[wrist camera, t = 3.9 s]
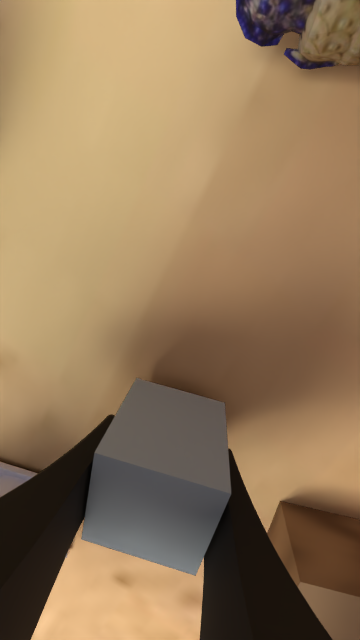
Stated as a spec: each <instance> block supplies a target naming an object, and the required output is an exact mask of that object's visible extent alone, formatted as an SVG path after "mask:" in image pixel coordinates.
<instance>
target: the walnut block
mask: <svg viewBox="0 0 360 640" xmlns="http://www.w3.org/2000/svg"><path fill="white" fill-rule="evenodd" d="M267 535H268V537H269V539H270V540H271V542H272V544H273V546H274V548H275V550H276V551H277V553H278V555H279V557H280V559H281V560H282V562H283V564H284V565H285V567H286V569H287V571H288V572H289V574H290V576H291V577H292V579H293V581H294V582H295V584H296V585H297V587H298V588H299V590H300V592H301V593H302V595H303V596H304V598H305V599H306V601H307V603H308V604H309V606H310V607H311V609H312V610H313V612H314V613H315V615H316V616H317V618H318V619H319V621H320V622H321V624H322V625H323V626H324V628H325V629H326V631H327V632H328V634H329V635H330V637H331V638H332V639H333V640H360V520H359V519H355V518H351V517H346V516H342V515H338V514H333V513H329V512H325V511H321V510H316V509H312V508H308V507H303V506H299V505H295V504H290V503H286V502H282V501H280V503H279V505H278V508H277V510H276V513H275V515H274V518H273V520H272V523H271V525H270V528H269V530H268V533H267Z"/></svg>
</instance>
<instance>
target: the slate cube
mask: <svg viewBox="0 0 360 640" xmlns="http://www.w3.org/2000/svg"><path fill="white" fill-rule="evenodd" d="M230 496H231V482H230V468H229V454H228V440H227V426H226V412H225V403H224V402H220V401H217V400H213V399H210V398H206V397H203V396H199V395H195V394H192V393H188V392H185V391H181V390H178V389H174V388H171V387H167V386H163V385H160V384H156V383H153V382H149V381H146V380H142V379H139V378H136V380H135V381H134V383H133V385H132V387H131V388H130V390H129V392H128V394H127V396H126V397H125V399H124V401H123V403H122V405H121V406H120V408H119V410H118V412H117V413H116V415H115V417H114V419H113V421H112V422H111V424H110V426H109V428H108V429H107V431H106V433H105V435H104V437H103V438H102V440H101V442H100V444H99V445H98V447H97V449H96V451H95V453H94V459H93V465H92V472H91V479H90V485H89V492H88V499H87V505H86V512H85V519H84V525H83V532H82V540H85V541H88V542H92V543H95V544H98V545H101V546H104V547H107V548H110V549H113V550H117V551H120V552H123V553H126V554H129V555H132V556H135V557H139V558H142V559H145V560H148V561H151V562H154V563H157V564H160V565H164V566H167V567H170V568H173V569H176V570H179V571H182V572H186V573H189V574H192V575H195V576H196V573H197V571H198V569H199V566H200V564H201V562H202V560H203V557H204V555H205V553H206V550H207V548H208V546H209V544H210V541H211V539H212V537H213V534H214V532H215V530H216V528H217V525H218V523H219V521H220V518H221V516H222V514H223V512H224V509H225V507H226V505H227V502H228V500H229V498H230Z"/></svg>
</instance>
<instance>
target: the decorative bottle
mask: <svg viewBox="0 0 360 640" xmlns="http://www.w3.org/2000/svg"><path fill="white" fill-rule="evenodd" d="M236 17H237V19H238V22H239V24H240V26H241V29H242V31H243V34H244V36H245V38H246V39H248V40H250V41H252V42H254V43H256V44H258V45H260V46H273V45H278V43H279V41H280V40H281V38H282V37H283V35H284V33H288V32H291V31H293V32H296V33H299V34H300V36H299V43H298V49H291V48H287V49H286V51H285V53H284V55H285V56H287V57H288V58H289V59H290V60H291V61H292V62H294V63H295V64H296V65H297V66H298V67H300V68H301V69H315V68H321V67H331V66H335V65H338V64H341V65H360V0H236Z"/></svg>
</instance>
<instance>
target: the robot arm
mask: <svg viewBox="0 0 360 640" xmlns="http://www.w3.org/2000/svg"><path fill="white" fill-rule="evenodd" d="M114 417H115V416H114V415H109V416H107V417H106V418H105V419H104V420H103V421H102V422H101V423H100V424H99V425H98V426H97V427H96V428H95V429H94V430H93V431H92V432H91V433H90V434H88V435H87V436H86V437H85V438H84V439H83V440H81V441H80V442H79V443H78V444H77V445H76V446H74V447H73V448H72V449H71V450H69V451H68V452H67V453H66V454H64V455H63V456H62V457H60V458H59V459H58V460H56V461H55V462H54V463H52V464H51V465H50V466H48V467H47V468H45V469H44V470H43V471H41V472H40V473H35V472H32V471H29V470H25V469H22V468H19V467H16V466H12V465H9V464H6V463H3V462H0V640H31V637H32V635H33V633H34V630H35V628H36V625H37V623H38V621H39V618H40V616H41V613H42V611H43V609H44V606H45V604H46V602H47V599H48V597H49V594H50V592H51V590H52V587H53V585H54V583H55V580H56V578H57V576H58V573H59V571H60V569H61V566H62V564H63V562H64V560H65V558H66V557H67V555H68V553H69V548H70V546H71V543H72V541H73V539H74V537H75V535H76V533H77V531H78V529H79V527H80V525H81V523H82V521H83V519H84V517H85V512H86V505H87V499H88V492H89V485H90V479H91V472H92V465H93V459H94V453H95V451H96V449H97V447H98V445H99V444H100V442H101V440H102V438H103V437H104V435H105V433H106V431H107V429H108V428H109V426H110V424H111V422H112V421H113V419H114ZM228 454H229V468H230V482H231V496H230V498H229V500H228V502H227V505H226V507H225V509H224V512H223V514H222V516H221V518H220V521H219V523H218V525H217V528H216V530H215V532H214V534H213V537H212V539H211V541H210V544H209V546H208V548H207V550H206V553H205V555H204V585H203V601H202V616H201V630H200V640H333V639H332V638H331V637H330V635H329V634H328V632H327V631H326V629H325V628H324V626H323V625H322V624H321V622H320V621H319V619H318V618H317V616H316V615H315V613H314V612H313V610H312V609H311V607H310V606H309V604H308V603H307V601H306V599H305V598H304V596H303V595H302V593H301V592H300V590H299V588H298V587H297V585H296V584H295V582H294V581H293V579H292V577H291V576H290V574H289V572H288V571H287V569H286V567H285V565H284V564H283V562H282V560H281V559H280V557H279V555H278V553H277V551H276V550H275V548H274V546H273V544H272V542H271V540H270V539H269V537H268V535H267V533H266V531H265V529H264V527H263V525H262V523H261V521H260V519H259V517H258V514H257V512H256V510H255V508H254V506H253V504H252V501H251V499H250V497H249V494H248V492H247V490H246V487H245V485H244V483H243V480H242V477H241V475H240V472H239V470H238V467H237V464H236V462H235V459H234V456H233V453H232V451H231V449H228Z"/></svg>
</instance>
